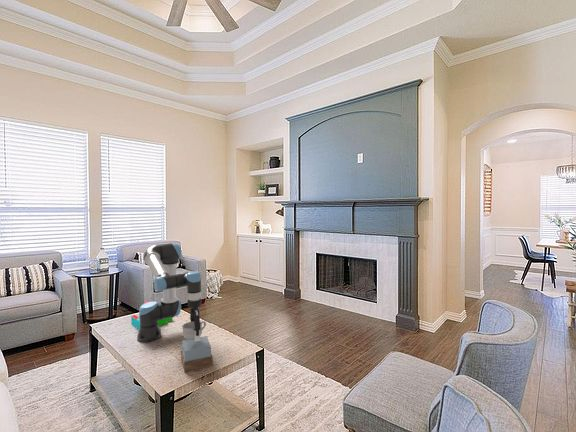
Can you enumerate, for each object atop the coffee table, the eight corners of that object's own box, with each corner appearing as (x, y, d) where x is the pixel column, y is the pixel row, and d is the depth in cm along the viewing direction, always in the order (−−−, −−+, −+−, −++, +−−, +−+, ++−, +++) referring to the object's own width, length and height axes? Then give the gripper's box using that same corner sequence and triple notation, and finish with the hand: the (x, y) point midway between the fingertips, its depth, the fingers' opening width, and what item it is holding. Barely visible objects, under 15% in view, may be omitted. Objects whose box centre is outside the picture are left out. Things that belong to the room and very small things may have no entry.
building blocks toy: (173, 321, 237) (173, 298, 236) (140, 331, 219) (139, 306, 218) (163, 315, 250) (163, 293, 249) (131, 324, 232) (130, 300, 232)
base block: (180, 360, 177) (180, 350, 177) (206, 354, 184) (206, 345, 184) (184, 373, 164) (184, 362, 164) (212, 366, 171) (212, 356, 171)
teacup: (186, 344, 165) (185, 329, 165) (180, 337, 174) (179, 323, 174) (210, 337, 173) (210, 323, 173) (203, 330, 182) (203, 317, 182)
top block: (182, 350, 177) (182, 340, 177) (206, 345, 183) (206, 336, 183) (185, 361, 164) (184, 351, 164) (211, 356, 170) (210, 345, 170)
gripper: (184, 294, 181) (185, 330, 182) (191, 306, 161) (192, 346, 162) (197, 292, 185) (198, 328, 186) (205, 303, 164) (206, 343, 165)
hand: (195, 336), depth 174 cm, fingers closed on teacup, 11 cm apart
